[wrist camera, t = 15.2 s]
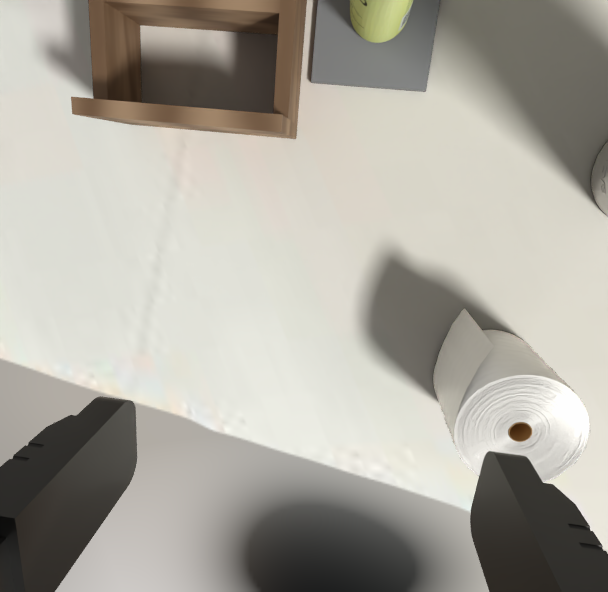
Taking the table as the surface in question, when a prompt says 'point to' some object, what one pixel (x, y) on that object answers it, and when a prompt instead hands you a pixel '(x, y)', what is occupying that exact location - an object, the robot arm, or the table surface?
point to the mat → (373, 49)
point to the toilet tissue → (506, 401)
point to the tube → (379, 18)
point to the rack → (194, 15)
